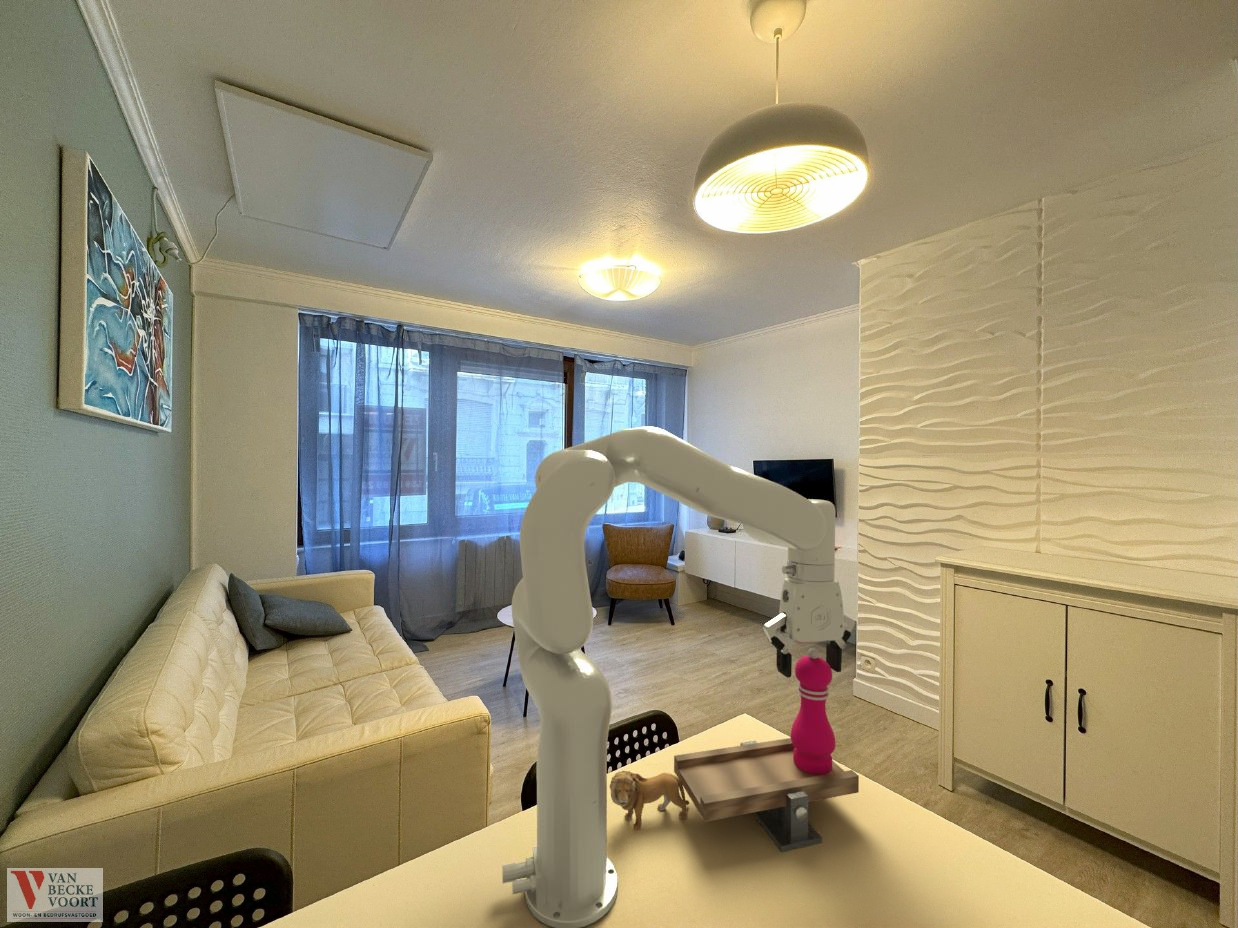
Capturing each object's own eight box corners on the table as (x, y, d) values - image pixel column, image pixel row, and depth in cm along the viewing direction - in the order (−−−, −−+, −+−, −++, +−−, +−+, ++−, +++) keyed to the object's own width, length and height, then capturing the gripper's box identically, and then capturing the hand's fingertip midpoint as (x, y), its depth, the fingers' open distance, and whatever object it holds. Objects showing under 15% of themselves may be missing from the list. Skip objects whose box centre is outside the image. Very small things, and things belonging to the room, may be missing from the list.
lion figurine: (618, 844, 77) (618, 786, 77) (603, 822, 82) (603, 767, 82) (697, 814, 84) (697, 760, 84) (679, 795, 89) (680, 744, 89)
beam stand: (781, 851, 76) (781, 803, 76) (728, 781, 92) (728, 742, 92) (821, 842, 78) (822, 795, 78) (763, 775, 94) (763, 737, 94)
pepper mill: (839, 780, 83) (840, 657, 83) (793, 774, 84) (794, 654, 84) (830, 754, 90) (831, 642, 90) (787, 750, 91) (788, 639, 91)
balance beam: (704, 821, 75) (704, 803, 75) (674, 771, 87) (674, 755, 87) (858, 792, 82) (858, 775, 82) (810, 749, 94) (810, 734, 94)
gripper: (778, 578, 81) (776, 685, 81) (869, 574, 85) (867, 675, 85) (754, 569, 88) (752, 667, 88) (839, 565, 93) (837, 659, 93)
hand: (809, 671), depth 87 cm, fingers open, 9 cm apart
